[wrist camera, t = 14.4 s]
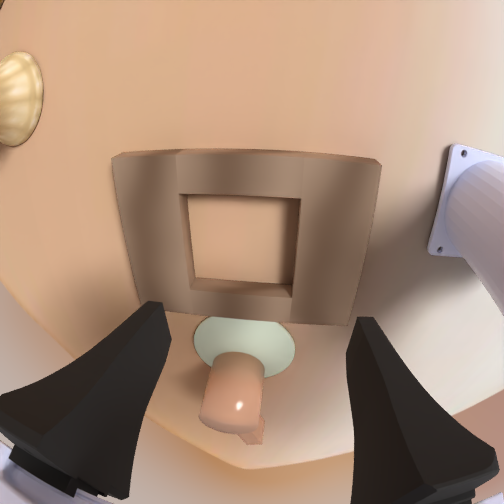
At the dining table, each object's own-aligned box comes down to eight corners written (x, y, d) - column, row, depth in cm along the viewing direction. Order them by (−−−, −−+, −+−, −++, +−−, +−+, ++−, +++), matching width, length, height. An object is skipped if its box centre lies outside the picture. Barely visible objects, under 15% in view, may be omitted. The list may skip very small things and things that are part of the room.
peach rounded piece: (204, 354, 27) (188, 408, 22) (254, 348, 25) (246, 406, 20) (238, 403, 31) (230, 449, 26) (281, 399, 30) (278, 448, 24)
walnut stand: (374, 159, 16) (381, 165, 15) (345, 312, 23) (347, 325, 21) (122, 152, 18) (111, 158, 17) (148, 296, 24) (142, 307, 23)
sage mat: (300, 314, 23) (300, 317, 23) (289, 379, 28) (289, 382, 28) (188, 305, 24) (187, 307, 24) (200, 370, 29) (199, 373, 28)
